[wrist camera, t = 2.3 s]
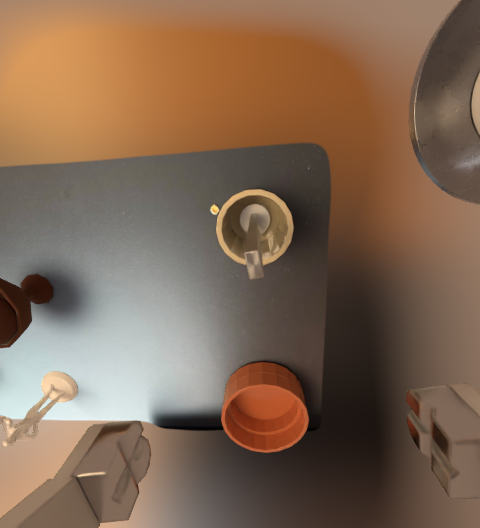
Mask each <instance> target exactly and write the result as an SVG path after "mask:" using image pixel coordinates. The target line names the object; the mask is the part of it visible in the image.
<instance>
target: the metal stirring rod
mask: <svg viewBox="0 0 480 528" xmlns="http://www.w3.org/2000/svg"><path fill="white" fill-rule="evenodd" d="M239 222H240V226H241V228H242V229H243V230H244V231H245V232H246V233H247V238H246V244H245V250H244V257H245V261H246V265H247V270H248V274H249V279H250V280H252V279H258V278H263V277H264V271H263V261H262V251H261V240H260V234H261V233H263V232H264V231H265V230H266V229H267V228H268V226H269V224H270V214H269V212H268V210H267V209H266V208H265V207H264V206H263V205H261V204H258V203H252V204H249V205H247V206H245V207H244V208H243V210H242V211H241V213H240V217H239Z"/></svg>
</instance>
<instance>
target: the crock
mask: <svg viewBox="0 0 480 528" xmlns="http://www.w3.org/2000/svg"><path fill="white" fill-rule="evenodd" d="M252 203H258V204H261V205H263V206H264V207H265V208H266V209H267V210H268V212H269V214H270V224H269V226H268V228H267V229H266V230H265V231H264V232H263V233H261V234H260V240H261V251H262V261H263V265H265V264H268V263H270V262H273V261H275V260H276V259H277V258H278V257H280V256H281V255H282V254H283V253H284V252H285V251H286V249H287V247H288V246H289V244H290V242H291V240H292V234H293V229H294V226H293V220H292V215H291V213H290V211H289V209H288V207H287V206H286V204H285V203H284V202H283V201H282V200H281V199H280V198H279V197H277V196H276V195H275V194H273V193H271V192H268V191H265V190H262V189H247V190H245V191H243V192H240V193H238V194H236V195H234V196H232V197H231V198H230V199H229V200H228V201H227V202H226V203H225V204H224V205H223V207H222V209H221V211H220V213H219V215H218V218H217V227H216V232H217V236H218V240H219V243H220V245H221V247H222V248H223V250H224V251H225V253H226V254H227V255H228V256H230V257H231V258H232V259H234V260H235V261H236V262H238V263H242V264H245V265H246V261H245V257H244V250H245V244H246V238H247V233H246V232H245V231H244V230H243V229H242V228H241V226H240V222H239V217H240V213H241V211H242V210H243V208H244V207H245V206H247V205H249V204H252Z"/></svg>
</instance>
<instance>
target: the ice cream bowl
mask: <svg viewBox="0 0 480 528" xmlns="http://www.w3.org/2000/svg"><path fill="white" fill-rule="evenodd" d="M52 297H53V287H52V285H51V284H50V282H49V281H48V280H47V279H46V278H44V277H42V276H40V275H38V274H34V275H28V276H27V277H26V278H25V279H24V280H23V281H22V283H21V288H20V287H18V286H16V285H14V284H12V283H9V282H7V281H5V280H3V279H1V278H0V348H7V347H10V346H11V345H12V344H13V343H14V342H15V341H16V340H17V339H18V338H19V337H20V336H21V335H22V334H23V332H24V331H25V330H26V329H27V328H28V326H29V325H30V323H31V321H32V315H31V303H30V301H31V302H33V303H35V304H41V303H48V302H49V301H50V300H51V299H52Z"/></svg>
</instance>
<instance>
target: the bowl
mask: <svg viewBox="0 0 480 528" xmlns="http://www.w3.org/2000/svg"><path fill="white" fill-rule="evenodd" d="M221 421H222V424H223V427H224V430H225V432H226V433H227V434H228V436H229V437H230V438H231V439H232V440H233V441H234V442H236V443H237V444H239V445H240V446H242V447H244V448H247V449H249V450H252V451H259V452H266V453H267V452H276V451H281V450H283V449H286V448H288V447H291V446H292V445H294V444H295V443H296V442H298V441H299V440H300V439H301V438H302V436H303V435H304V433H305V432H306V430H307V426H308V421H309V418H308V413H307V408H306V404H305V400H304V395H303V391H302V387H301V384H300V382H299V381H298V379H297V377H296V376H295V375H294V374H293V373H292V372H290V371H289V370H288V369H287V368H285V367H282V366H280V365H277V364H274V363H266V362H259V363H252V364H248V365H246V366H244V367H242V368H239V369H238V370H237V371H236V372H235V373H234V374H233V375H231V376H230V378H229V380H228V382H227V384H226V387H225V394H224V401H223V408H222V417H221Z"/></svg>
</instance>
